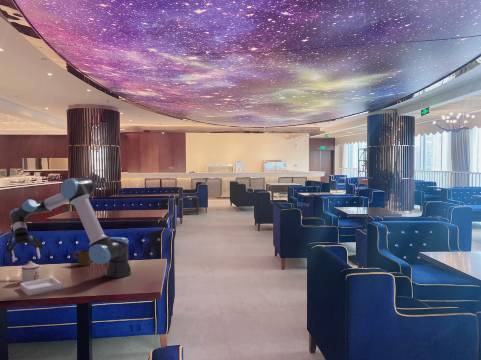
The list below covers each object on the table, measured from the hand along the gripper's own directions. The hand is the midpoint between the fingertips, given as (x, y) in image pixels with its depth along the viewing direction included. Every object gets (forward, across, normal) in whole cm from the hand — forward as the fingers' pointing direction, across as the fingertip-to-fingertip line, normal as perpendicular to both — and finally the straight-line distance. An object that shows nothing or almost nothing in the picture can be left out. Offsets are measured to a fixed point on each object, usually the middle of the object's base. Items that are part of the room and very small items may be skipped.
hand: (27, 259), depth 237 cm
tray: (+27, -1, +11) cm, 29 cm away
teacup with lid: (+13, -1, -3) cm, 14 cm away
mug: (-1, -36, -18) cm, 41 cm away
